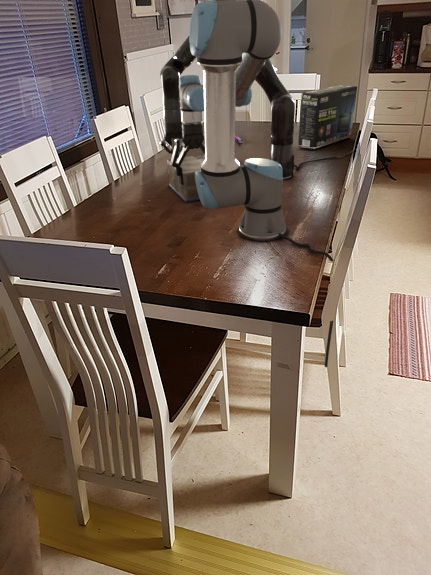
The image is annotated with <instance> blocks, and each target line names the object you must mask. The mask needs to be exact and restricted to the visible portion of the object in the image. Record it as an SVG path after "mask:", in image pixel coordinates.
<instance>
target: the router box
mask: <svg viewBox="0 0 431 575" xmlns="http://www.w3.org/2000/svg"><path fill="white" fill-rule="evenodd" d="M357 93H358V86H356V85H350V84H339V85H338V84H337V85H334V86H328V87H324V88H318V89H314V90H309V91H304V92H301V93H300V109H299V110H300V111H299V124H298V137H297V146H298V145H302V146H307V147H317V146H320V145H323V144H325V143H328V142H331V141H333V140H336V139H338V138H341V137H344V136H347V135H351V136H352V133H353V132H352V131H353V125H354V115H355V109H356V99H357ZM311 151H313V150H312V149H311Z"/></svg>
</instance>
